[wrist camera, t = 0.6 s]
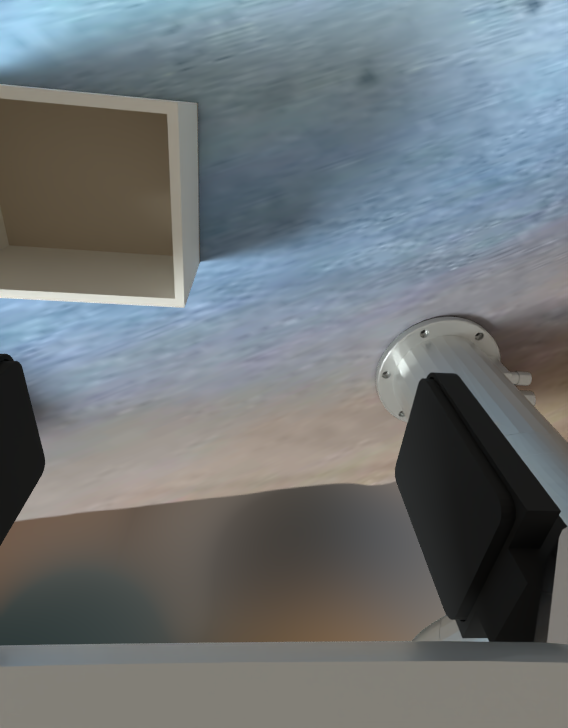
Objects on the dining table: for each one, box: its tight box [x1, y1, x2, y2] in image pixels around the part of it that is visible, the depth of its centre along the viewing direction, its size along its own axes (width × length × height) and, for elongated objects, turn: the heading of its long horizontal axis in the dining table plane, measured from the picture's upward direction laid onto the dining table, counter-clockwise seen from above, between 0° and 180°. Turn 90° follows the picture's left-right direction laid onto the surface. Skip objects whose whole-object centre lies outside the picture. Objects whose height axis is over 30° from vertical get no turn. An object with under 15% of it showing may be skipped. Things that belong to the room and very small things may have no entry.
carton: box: [0, 84, 200, 308], centre depth 30 cm, size 16×12×10 cm
